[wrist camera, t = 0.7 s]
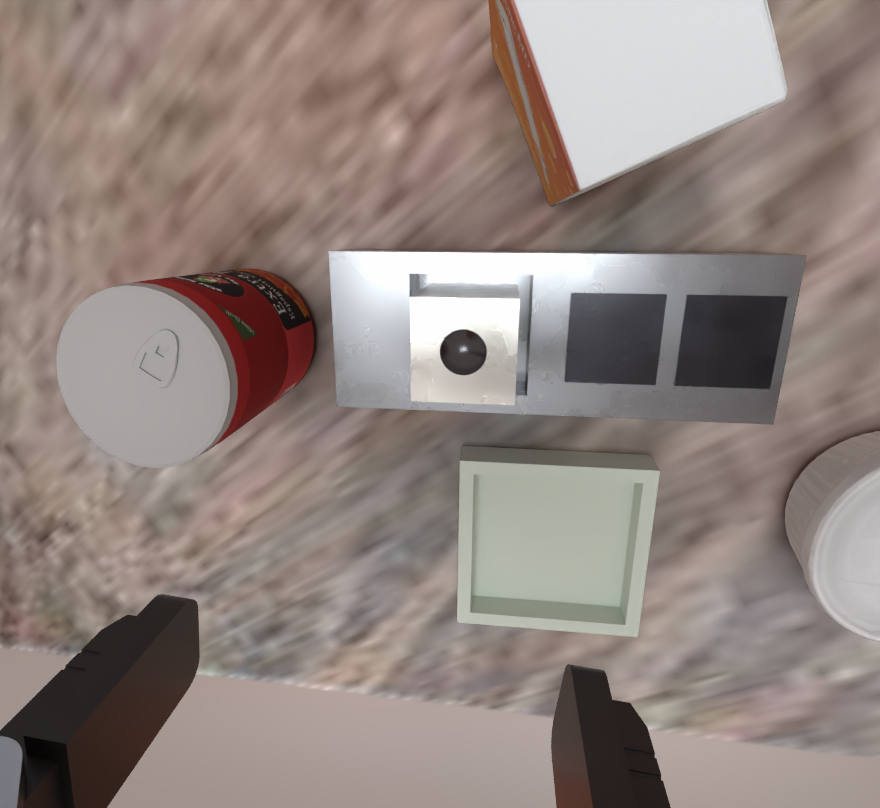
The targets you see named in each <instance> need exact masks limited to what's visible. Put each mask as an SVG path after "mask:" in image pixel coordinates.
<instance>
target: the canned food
mask: <svg viewBox="0 0 880 808" xmlns="http://www.w3.org/2000/svg"><path fill="white" fill-rule="evenodd" d="M314 337H315V334H314V327H313V322H312V319H311V316H310V313H309V310H308V309H307V307H306V305H305V303H304V301H303V300H302V299H301V297H300V296H299V295H298V294H297V293H296V291H295V290H294V289H292V288H291V287H290V286H289V285H288V284H286V283H285V282H284V281H282V280H281V279H279V278H277V277H275V276H273V275H271V274H270V273H266V272H263V271H260V270H255V269H236V270H228V271H220V272H212V273H204V274H195V275H187V276H179V277H171V278H163V279H155V280H147V281H140V282H134V283H129V284H121V285H117V286H115V287H111V288H108V289H105V290H103V291H100V292H98V293H95V294H93V295H92V296H90V297H89V298H87V299H86V300H85V301H83V302H82V303H80V305H79V306H78V307H77V308H76V309H75V310H74V311H73V313H72V314H71V315H70V316H69V318H68V320H67V322H66V324H65V325H64V327H63V329H62V332H61V335H60V339H59V342H58V346H57V357H56V368H57V377H58V383H59V387H60V390H61V393H62V397H63V400H64V402H65V404H66V406H67V408H68V410H69V412H70V414H71V416H72V417H73V419H74V420H75V421H76V423H77V424H78V426H79V427H80V429H81V430H82V431H83V432H84V433H85V434H86V435H87V436H88V437H89V438H90V439H91V440H92V441H93V442H94V443H95V444H96V445H98V446H99V447H100V448H102V449H103V450H104V451H106V452H107V453H109V454H110V455H112V456H114V457H116V458H118V459H120V460H122V461H125V462H128V463H131V464H134V465H137V466H143V467H151V468H161V467H172V466H175V465H179V464H182V463H185V462H188V461H189V460H191V459H194V458H196V457H197V456H199V455H201V454H203V453H205V452H206V451H208V450H209V449H211V448H212V447H214V446H215V445H216V444H218V443H220V442H221V441H223V440H224V439H225V438H227V437H228V436H229V435H231V434H232V433H233V432H235V431H236V430H238V429H239V428H240V427H242V426H243V425H244V424H246V423H247V422H248V421H250V420H251V419H252V418H254V417H255V416H257V415H258V414H259V413H261V412H262V411H263V410H265V409H266V408H267V407H269V406H270V405H271V404H273V403H274V402H275V401H277V400H278V399H280V398H281V397H282V396H284V395H285V394H286V393H288V392H289V391H290V390H291V389H292V388H294V387H295V386H296V385H297V384H298V383H299V382H300V380H301V379H302V378H303V376H304V375H305V373H306V371H307V369H308V367H309V365H310V362H311V358H312V354H313V349H314Z"/></svg>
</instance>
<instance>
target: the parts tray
mask: <svg viewBox="0 0 880 808" xmlns="http://www.w3.org/2000/svg"><path fill="white" fill-rule="evenodd" d="M659 475H660V470H659V468H658V467H657V465H656V464H655V462H654V461H653V459H652V458H651V456H650V455H643V454H622V453H601V452H580V451H559V450H538V449H517V448H496V447H475V446H463V448H462V453H461V458H460V483H459V543H458V602H457V622H460V623H472V624H484V625H496V626H508V627H520V628H532V629H545V630H557V631H569V632H581V633H593V634H605V635H617V636H629V637H638V631H639V624H640V616H641V609H642V601H643V594H644V586H645V579H646V572H647V564H648V557H649V549H650V542H651V535H652V527H653V520H654V512H655V505H656V498H657V490H658V483H659Z"/></svg>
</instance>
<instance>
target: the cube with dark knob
mask: <svg viewBox="0 0 880 808" xmlns="http://www.w3.org/2000/svg"><path fill="white" fill-rule="evenodd" d="M519 308H520V297H519V292H518V287H517V284H476V283H431V284H429V285H427V286H426V287H424V288H423V289H421V290H420V291H418V292H417V293H415V294H414V295H412V296H411V297H410V352H411V401H416V402H442V403H468V404H493V405H515V392H516V371H517V350H518V329H519Z"/></svg>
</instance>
